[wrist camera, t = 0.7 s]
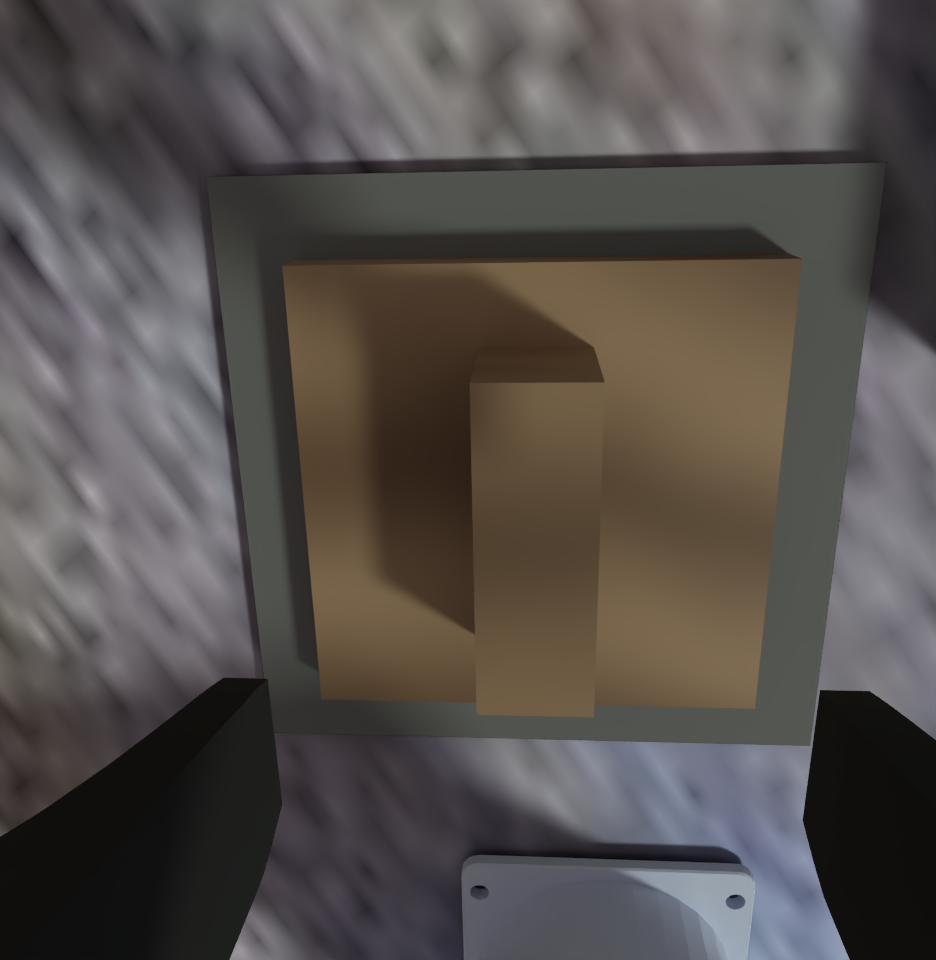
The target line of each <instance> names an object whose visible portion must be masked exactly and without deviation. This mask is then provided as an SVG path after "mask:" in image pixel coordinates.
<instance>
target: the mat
mask: <svg viewBox="0 0 936 960" xmlns="http://www.w3.org/2000/svg"><path fill="white" fill-rule="evenodd" d="M886 165H887V163H884V162H873V163H826V164H779V165H731V166H684V167H637V168H590V169H542V170H495V171H448V172H401V173H354V174H306V175H259V176H212V177H206V182H207V191H208V200H209V208H210V217H211V225H212V234H213V243H214V251H215V260H216V269H217V277H218V286H219V294H220V303H221V312H222V320H223V329H224V338H225V346H226V355H227V363H228V372H229V381H230V389H231V398H232V407H233V415H234V424H235V432H236V441H237V450H238V458H239V467H240V476H241V484H242V493H243V501H244V510H245V519H246V527H247V536H248V545H249V553H250V562H251V570H252V579H253V588H254V596H255V605H256V614H257V622H258V631H259V639H260V648H261V657H262V665H263V674H264V679H268V685H269V694H270V703H271V712H272V720H273V729H274V733H308V734H349V735H390V736H431V737H471V738H512V739H553V740H594V741H634V742H675V743H716V744H757V745H797V746H810V741H811V733H812V726H813V718H814V711H815V703H816V696H817V688H818V680H819V673H820V665H821V658H822V650H823V643H824V635H825V627H826V620H827V612H828V605H829V597H830V590H831V582H832V574H833V567H834V559H835V552H836V544H837V537H838V529H839V521H840V514H841V506H842V499H843V491H844V484H845V476H846V468H847V461H848V453H849V446H850V438H851V430H852V423H853V415H854V408H855V400H856V393H857V385H858V377H859V370H860V362H861V355H862V347H863V340H864V332H865V324H866V317H867V309H868V302H869V294H870V287H871V279H872V271H873V264H874V256H875V249H876V241H877V234H878V226H879V218H880V211H881V203H882V196H883V188H884V181H885V173H886ZM776 253H789V254H792V255H794V256H797V257H799V258H802V265H801V275H800V284H799V294H798V303H797V313H796V323H795V332H794V342H793V351H792V361H791V370H790V380H789V389H788V399H787V408H786V418H785V427H784V437H783V446H782V456H781V465H780V475H779V485H778V494H777V504H776V513H775V523H774V532H773V542H772V551H771V561H770V570H769V580H768V589H767V599H766V608H765V618H764V627H763V637H762V646H761V656H760V666H759V675H758V685H757V694H756V704H755V709H741V708H695V707H649V706H603V705H594V717H552V716H508V715H477V710H476V703H465V702H419V701H373V700H327V699H322V697H321V686H320V675H319V664H318V653H317V642H316V631H315V620H314V609H313V598H312V587H311V576H310V565H309V554H308V543H307V532H306V521H305V510H304V499H303V488H302V477H301V467H300V456H299V445H298V434H297V423H296V412H295V401H294V390H293V379H292V368H291V357H290V346H289V335H288V324H287V313H286V302H285V291H284V280H283V269H282V266H283V265H285V264H287V263H290V262H292V261H294V260H353V259H423V258H494V257H564V256H635V255H706V254H776Z"/></svg>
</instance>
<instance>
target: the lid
mask: <svg viewBox="0 0 936 960" xmlns="http://www.w3.org/2000/svg"><path fill="white" fill-rule="evenodd" d="M801 265H802V258H799V257H797V256H794V255H792V254H789V253H776V254H706V255H635V256H564V257H494V258H423V259H353V260H294V261H292V262H290V263H287V264H285V265H283V266H282V269H283V280H284V291H285V302H286V313H287V324H288V335H289V346H290V357H291V368H292V379H293V390H294V401H295V412H296V423H297V434H298V445H299V456H300V467H301V477H302V488H303V499H304V510H305V521H306V532H307V543H308V554H309V565H310V576H311V587H312V598H313V609H314V620H315V631H316V642H317V653H318V664H319V675H320V686H321V697H322V699H327V700H373V701H419V702H465V703H476V710H477V715H508V716H552V717H594V705H603V706H649V707H695V708H741V709H755V704H756V694H757V685H758V675H759V666H760V656H761V646H762V637H763V627H764V618H765V608H766V599H767V589H768V580H769V570H770V561H771V551H772V542H773V532H774V523H775V513H776V504H777V494H778V485H779V475H780V465H781V456H782V446H783V437H784V427H785V418H786V408H787V399H788V389H789V380H790V370H791V361H792V351H793V342H794V332H795V323H796V313H797V303H798V294H799V284H800V275H801Z"/></svg>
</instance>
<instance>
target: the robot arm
mask: <svg viewBox="0 0 936 960" xmlns="http://www.w3.org/2000/svg"><path fill="white" fill-rule="evenodd" d="M281 806H282V800H281V791H280V782H279V773H278V764H277V756H276V747H275V738H274V729H273V720H272V712H271V703H270V694H269V685H268V679H249V678H223V679H221V680H220V681H218V682H217V683H215V684H214V685H213V686H211V687H210V688H208V689H207V690H206V691H204V692H203V693H202V694H200V695H199V696H198V697H197V698H195V699H194V700H193V701H191V702H190V703H189V704H188V705H186V706H185V707H184V708H182V709H181V710H180V711H179V712H177V713H176V714H175V715H173V716H172V717H171V718H170V719H168V720H167V721H166V722H164V723H163V724H162V725H161V726H159V727H158V728H157V729H155V730H154V731H153V732H151V733H150V734H149V735H148V736H146V737H145V738H144V739H142V740H141V741H140V742H138V743H137V744H136V745H134V746H133V747H132V748H130V749H129V750H128V751H127V752H125V753H124V754H123V755H121V756H120V757H119V758H117V759H116V760H115V761H113V762H112V763H111V764H109V765H108V766H106V767H105V768H103V769H102V770H100V771H99V772H98V773H96V774H95V775H93V776H92V777H90V778H89V779H88V780H86V781H85V782H83V783H82V784H80V785H79V786H77V787H76V788H75V789H73V790H72V791H70V792H69V793H67V794H66V795H65V796H63V797H62V798H60V799H59V800H57V801H56V802H54V803H53V804H52V805H50V806H49V807H47V808H46V809H44V810H43V811H41V812H40V813H38V814H36V815H35V816H33V817H32V818H30V819H29V820H27V821H25V822H24V823H22V824H21V825H19V826H17V827H16V828H14V829H12V830H11V831H9V832H8V833H6V834H4V835H2V836H1V837H0V960H229V959H230V957H231V954H232V952H233V949H234V947H235V944H236V942H237V940H238V937H239V935H240V932H241V930H242V927H243V925H244V922H245V920H246V917H247V915H248V912H249V910H250V907H251V905H252V902H253V900H254V897H255V895H256V892H257V890H258V887H259V885H260V882H261V880H262V877H263V874H264V871H265V867H266V863H267V860H268V856H269V853H270V849H271V846H272V842H273V838H274V834H275V830H276V826H277V822H278V818H279V814H280V810H281ZM803 823H804V827H805V831H806V834H807V838H808V842H809V846H810V850H811V853H812V857H813V861H814V865H815V868H816V871H817V875H818V878H819V882H820V885H821V889H822V892H823V896H824V898H825V901H826V903H827V906H828V908H829V911H830V913H831V916H832V918H833V920H834V923H835V925H836V928H837V930H838V932H839V935H840V937H841V940H842V942H843V945H844V947H845V949H846V952H847V954H848V957H849V959H850V960H936V740H935V739H934V738H932V737H931V736H930V735H928V734H927V733H926V732H924V731H923V730H922V729H920V728H919V727H918V726H917V725H915V724H914V723H913V722H911V721H910V720H909V719H907V718H906V717H905V716H903V715H902V714H901V713H899V712H898V711H897V710H895V709H894V708H893V707H891V706H890V705H889V704H887V703H886V702H884V701H883V700H882V699H880V698H879V697H877V696H876V695H874V694H873V693H871V692H870V691H832V690H820V695H819V703H818V710H817V718H816V725H815V733H814V740H813V748H812V755H811V763H810V770H809V778H808V785H807V793H806V800H805V807H804V815H803ZM461 882H462V915H463V948H464V960H747V956H748V947H749V938H750V930H751V921H752V912H753V903H754V895H755V881H754V878H753V875H752V872H751V871H750V870H749V868H747V867H745V866H744V865H741V864H734V863H704V862H675V861H646V860H616V859H587V858H557V857H528V856H498V855H475V856H471V857H469V858H467V859H466V860H465V862H464V863H463V867H462V875H461ZM477 885H481V886H485V887H486V888H484V889H478V888H475V887H474V886H477ZM736 894H737V895H740V896H738V897H737V898H728V897H729V896H731V895H736Z"/></svg>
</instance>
